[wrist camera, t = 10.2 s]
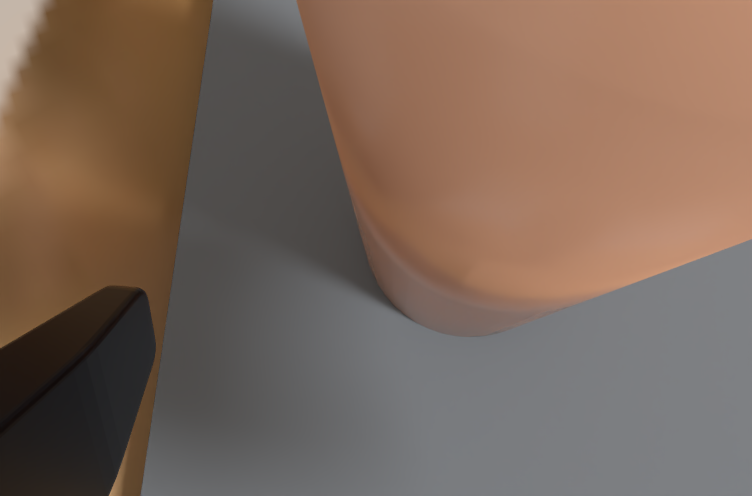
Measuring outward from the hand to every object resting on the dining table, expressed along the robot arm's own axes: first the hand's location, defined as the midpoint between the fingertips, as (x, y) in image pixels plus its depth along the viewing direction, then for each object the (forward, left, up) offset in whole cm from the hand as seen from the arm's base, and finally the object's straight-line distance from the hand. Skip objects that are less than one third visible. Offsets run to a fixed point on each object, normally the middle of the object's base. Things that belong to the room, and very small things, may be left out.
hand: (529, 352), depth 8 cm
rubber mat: (+3, +1, -9) cm, 10 cm away
